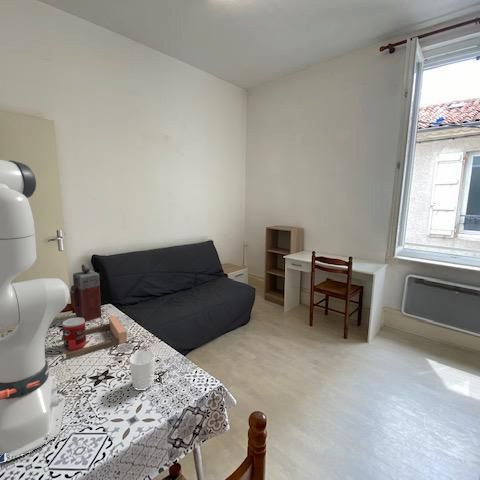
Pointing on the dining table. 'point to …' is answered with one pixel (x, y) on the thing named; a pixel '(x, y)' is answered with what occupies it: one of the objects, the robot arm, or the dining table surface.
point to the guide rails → (93, 347)
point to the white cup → (142, 369)
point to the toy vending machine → (86, 294)
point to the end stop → (118, 329)
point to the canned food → (74, 333)
